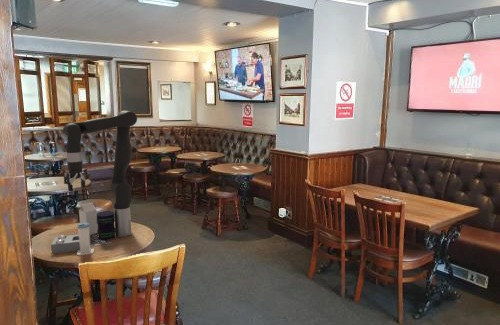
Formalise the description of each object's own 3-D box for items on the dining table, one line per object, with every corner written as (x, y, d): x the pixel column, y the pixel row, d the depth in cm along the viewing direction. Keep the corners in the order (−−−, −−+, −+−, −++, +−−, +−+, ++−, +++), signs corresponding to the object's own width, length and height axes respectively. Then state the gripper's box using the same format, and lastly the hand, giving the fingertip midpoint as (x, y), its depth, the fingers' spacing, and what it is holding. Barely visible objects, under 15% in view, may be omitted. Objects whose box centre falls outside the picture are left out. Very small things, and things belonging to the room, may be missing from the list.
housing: (90, 241, 209) (89, 233, 208) (88, 249, 198) (87, 240, 197) (55, 245, 203) (55, 236, 203) (51, 253, 192) (50, 244, 191)
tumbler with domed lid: (85, 248, 197) (83, 221, 195) (93, 250, 195) (91, 222, 193) (77, 252, 192) (74, 224, 190) (85, 254, 190) (83, 225, 188)
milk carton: (98, 232, 224) (96, 203, 220) (87, 236, 218) (85, 205, 215) (91, 230, 227) (89, 201, 224) (80, 233, 221) (78, 203, 218)
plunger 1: (66, 243, 204) (65, 234, 203) (65, 245, 201) (64, 236, 200) (60, 244, 203) (59, 235, 202) (59, 246, 200) (58, 237, 199)
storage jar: (115, 233, 222) (114, 210, 219) (115, 239, 212) (113, 215, 210) (98, 235, 218) (96, 211, 216) (97, 241, 209) (95, 216, 207)
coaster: (94, 249, 198) (94, 248, 198) (93, 253, 192) (93, 252, 192) (78, 251, 195) (78, 250, 195) (76, 255, 190) (76, 254, 190)
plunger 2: (64, 248, 198) (63, 239, 197) (63, 250, 195) (62, 241, 194) (58, 249, 197) (57, 239, 196) (57, 251, 194) (56, 241, 193)
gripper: (69, 162, 188) (72, 193, 191) (90, 158, 201) (92, 187, 204) (58, 162, 191) (61, 191, 193) (79, 158, 204) (82, 186, 207)
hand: (77, 189), depth 199 cm, fingers open, 8 cm apart
